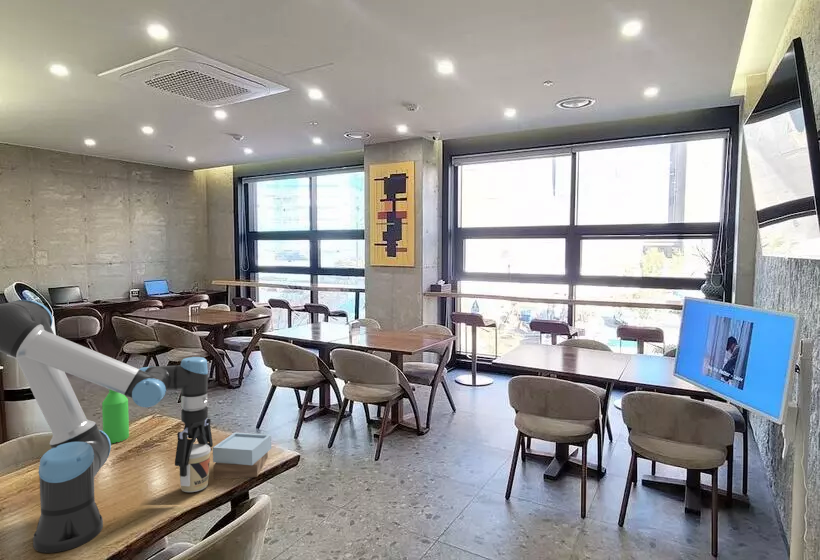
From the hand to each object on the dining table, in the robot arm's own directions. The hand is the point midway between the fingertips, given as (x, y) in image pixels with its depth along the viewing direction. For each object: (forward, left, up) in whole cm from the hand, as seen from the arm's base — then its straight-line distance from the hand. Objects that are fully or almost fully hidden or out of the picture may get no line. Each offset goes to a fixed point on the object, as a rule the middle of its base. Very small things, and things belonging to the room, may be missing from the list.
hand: (194, 478), depth 149 cm
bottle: (+31, +55, -4) cm, 63 cm away
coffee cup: (0, 0, -3) cm, 3 cm away
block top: (+16, -8, +1) cm, 18 cm away
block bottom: (+15, -7, -4) cm, 18 cm away
